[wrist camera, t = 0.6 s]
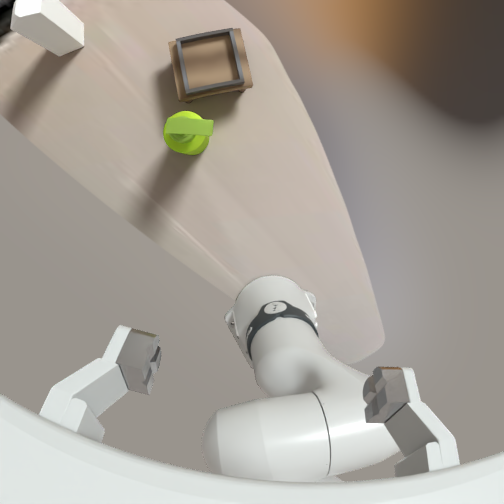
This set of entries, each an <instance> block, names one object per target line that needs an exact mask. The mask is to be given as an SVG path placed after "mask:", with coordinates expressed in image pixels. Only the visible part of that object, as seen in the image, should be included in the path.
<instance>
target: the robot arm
mask: <svg viewBox="0 0 504 504" xmlns="http://www.w3.org/2000/svg"><path fill="white" fill-rule="evenodd" d="M315 307H316V298H315V295H314V294H312V293H310V292H307V291H304V290H302V289H301V288H300V287H299V286H298V285H297V284H296V283H294V282H293V281H291V280H290V279H288V278H285V277H281V276H265V277H261V278H258V279H256V280H254V281H252V282H251V283H249V284H248V285H247V286H246V287H245V288H244V289H243V290H242V291H241V292H240V294H239V296H238V298H237V300H236V302H235V304H234V306H233V307H232V308H231V309H230V310H229V311H228V312H227V313H226V314H225V321H226V323H227V325H228V327H229V329H230V331H231V332H232V334H233V336H234V338H235V340H236V342H237V343H238V345H239V347H240V349H241V351H242V353H243V354H244V356H245V358H246V360H247V361H248V363H249V365H250V367H251V368H253V369H254V373H255V378H256V382H257V384H258V386H259V387H260V389H261V390H262V391H263V392H264V393H265V394H266V395H267V396H268V397H269V398H263V399H255V400H251V401H247V402H244V403H240V404H236V405H233V406H229V407H226V408H222V409H218V410H217V411H216V412H215V413H214V414H213V415H212V416H211V417H210V419H209V420H208V422H207V424H206V426H205V428H204V431H203V435H202V443H201V444H202V445H201V447H202V454H203V458H204V460H205V463H206V465H207V467H208V468H209V470H210V471H211V473H209V472H204V471H198V470H194V469H189V468H184V467H180V466H175V465H171V464H167V463H164V462H159V461H156V460H152V459H148V458H145V457H142V456H139V455H135V454H132V453H129V452H126V451H123V450H120V449H117V448H114V447H111V446H108V445H106V444H103V443H101V441H102V438H103V435H104V432H105V430H104V427H103V426H102V425H101V423H100V422H99V421H98V419H97V418H96V417H97V416H99V415H100V414H101V413H102V412H104V411H105V410H106V409H107V408H109V407H110V406H111V405H112V404H113V403H114V402H116V401H117V400H118V399H119V398H121V397H122V396H123V395H124V394H125V393H127V392H128V390H131V391H135V392H139V393H143V394H147V395H149V394H150V391H151V388H152V386H153V383H154V378H153V374H154V373H155V372H157V371H158V368H159V365H160V360H161V348H160V347H159V346H158V343H159V341H160V340H159V336H158V335H155V334H152V333H148V332H144V331H140V330H136V329H133V328H129V327H126V326H122V325H120V326H119V327H118V328H117V329H116V331H115V333H114V335H113V337H112V339H111V341H110V343H109V345H108V347H107V349H106V351H105V353H104V355H103V357H102V359H100V358H97V359H96V360H94V361H93V362H91V363H89V364H88V365H86V366H85V367H83V368H81V369H80V370H78V371H77V372H75V373H73V374H72V375H70V376H69V377H67V378H65V379H64V380H62V381H61V382H59V383H57V384H56V385H54V386H53V387H52V388H51V391H50V392H49V395H48V397H47V398H46V401H45V403H44V405H43V407H42V409H41V411H40V413H39V415H38V414H36V413H34V412H32V411H30V410H28V409H27V408H25V407H23V406H21V405H20V404H18V403H16V402H14V401H13V400H11V399H9V398H8V397H6V396H4V395H3V394H1V393H0V504H504V451H503V452H500V453H497V454H494V455H491V456H488V457H485V458H482V459H478V460H475V461H472V462H468V463H465V464H461V465H460V462H459V457H458V451H457V446H456V441H455V438H454V436H453V435H452V434H451V433H450V432H449V431H448V429H447V428H446V427H445V426H444V425H443V424H442V422H441V421H440V420H439V419H438V418H437V417H436V415H435V414H434V413H433V412H432V411H431V410H430V409H429V407H427V405H426V404H425V403H424V402H421V400H420V396H419V391H418V387H417V384H416V379H415V375H414V372H413V370H412V368H400V367H376V368H375V369H374V371H373V375H372V376H369V375H366V374H364V373H361V372H359V371H356V370H355V369H353V368H351V367H349V366H347V365H345V364H343V363H342V362H340V361H338V360H337V359H335V358H334V357H333V356H331V355H330V354H329V353H328V352H327V350H326V349H325V348H324V346H323V345H322V343H321V341H320V340H319V337H318V333H317V327H318V325H317V322H315V318H316V317H317V315H316V312H315ZM231 322H234V324H232V323H231ZM400 450H401V452H402V453H403V455H404V457H405V458H404V459H402V460H401V461H399V462H397V463H396V464H395V478H386V479H377V480H365V481H350V482H343V481H342V480H340V479H339V478H337V477H336V476H334V475H338V474H342V473H346V472H350V471H353V470H357V469H361V468H364V467H367V466H371V465H374V464H377V463H379V462H381V461H383V460H385V459H387V458H388V457H390V456H392V455H394V454H395V453H397V452H399V451H400Z"/></svg>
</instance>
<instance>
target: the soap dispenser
mask: <svg viewBox="0 0 504 504" xmlns="http://www.w3.org/2000/svg"><path fill="white" fill-rule="evenodd" d="M213 122H214V121H213V120H205V119H202V118H201V117H200V116H199V115H197V114H196V113H194V112H190V111H182V112H178V113H176V114H174V115H173V116H171V117H170V118H167V122H166V124H165V126H164V131H163V136H164V140H165V142H166V144H167V145H168V146H169V147H170V148H171V149H172V150H174V151H176V152H180V153H183V154H187V155H196V154H199V153H201V152H202V151H204V150H205V148H206V147H207V145H208V143H209V136H212V132H213Z"/></svg>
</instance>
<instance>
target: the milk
mask: <svg viewBox="0 0 504 504" xmlns="http://www.w3.org/2000/svg"><path fill="white" fill-rule="evenodd" d="M11 30H13V31H15V32H17V33H19V34H21V35H22V36H24V37H26V38H28V39H30V40H31V41H33V42H35V43H37V44H38V45H40V46H42V47H44V48H45V49H47V50H49V51H51V52H52V53H54V54H56V55H57V56H59V57H60V56H62V55H65V54H67V53H69V52H72V51H74V50H76V49H79V48H82V47H84V24H83V23H82V22H81V21H80V20H79V19H78V18H77V17H76V16H75V15H74V14H73V13H72V12H71V11H70V10H69V9H68V8H66V7H65V6H64V5H63V4H62V3H61V2H60V1H59V0H16V1H15V2H14V7H13V14H12V21H11Z"/></svg>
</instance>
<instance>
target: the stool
mask: <svg viewBox="0 0 504 504" xmlns="http://www.w3.org/2000/svg"><path fill="white" fill-rule="evenodd" d="M168 44H169V50H170V55H171V61H172V66H173V72H174V77H175V83H176V88H177V93H178V98H179V101H180V102H183V101H185V102H186V103H190V102H191V101H192V100H193V99H196V98H200V97H205V96H210V95H214V94H219V93H225V92H230V91H235V90H238V91H239V92H244V91H245V90H246V89H247V88H252V86H253V82H252V78H251V73H250V69H249V65H248V60H247V56H246V52H245V47H244V43H243V39H242V35H241V30H240V28H239V29H233V28H229V29H223V30H217V31H211V32H206V33H201V34H196V35H191V36H186V37H182V38H178V39H176V41H172V42H168Z"/></svg>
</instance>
